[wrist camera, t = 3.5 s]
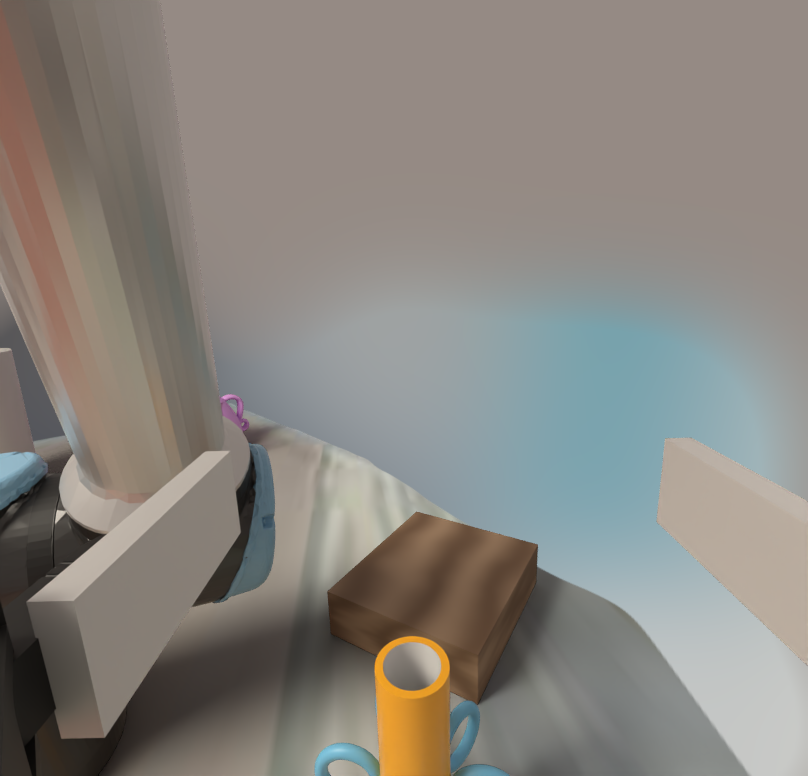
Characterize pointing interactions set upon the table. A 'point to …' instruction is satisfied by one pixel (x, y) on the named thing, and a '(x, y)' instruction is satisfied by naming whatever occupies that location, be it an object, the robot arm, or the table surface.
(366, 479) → the table surface
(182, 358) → the robot arm
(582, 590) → the table surface
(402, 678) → the orange blue tall piece
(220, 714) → the table surface
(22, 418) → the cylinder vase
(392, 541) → the walnut block
